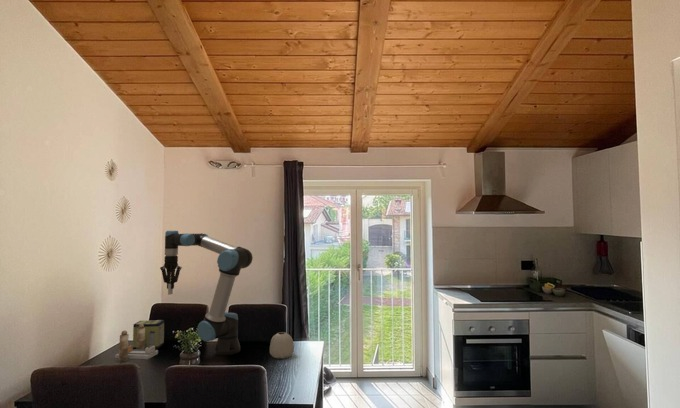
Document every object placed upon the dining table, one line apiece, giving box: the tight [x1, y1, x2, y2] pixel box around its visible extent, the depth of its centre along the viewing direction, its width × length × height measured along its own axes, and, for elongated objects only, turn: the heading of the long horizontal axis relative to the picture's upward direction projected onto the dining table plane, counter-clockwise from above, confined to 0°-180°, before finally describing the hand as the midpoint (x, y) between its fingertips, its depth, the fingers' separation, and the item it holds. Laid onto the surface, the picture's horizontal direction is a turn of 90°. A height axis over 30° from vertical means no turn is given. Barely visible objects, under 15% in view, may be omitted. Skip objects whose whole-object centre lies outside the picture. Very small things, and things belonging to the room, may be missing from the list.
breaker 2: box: [145, 345, 156, 353], centre depth 226 cm, size 3×5×4 cm, turn 175°
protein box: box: [132, 319, 165, 350], centre depth 245 cm, size 10×16×16 cm
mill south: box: [136, 324, 145, 350], centre depth 235 cm, size 4×4×16 cm
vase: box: [269, 331, 295, 360], centre depth 224 cm, size 14×14×13 cm
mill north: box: [118, 330, 130, 363], centre depth 219 cm, size 4×4×16 cm
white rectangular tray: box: [114, 348, 159, 360], centre depth 226 cm, size 20×10×3 cm, turn 85°
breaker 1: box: [128, 343, 133, 352], centre depth 227 cm, size 3×5×4 cm, turn 175°
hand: (170, 294), depth 237 cm, fingers closed
